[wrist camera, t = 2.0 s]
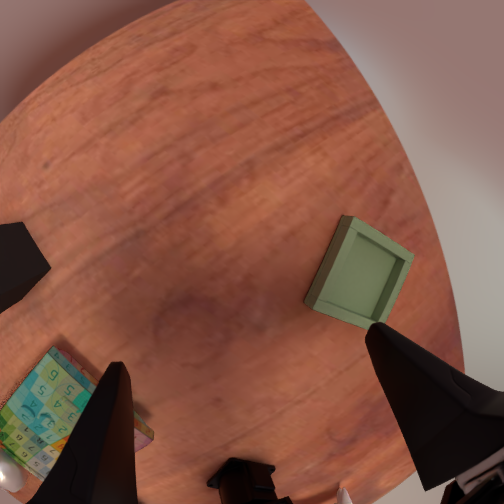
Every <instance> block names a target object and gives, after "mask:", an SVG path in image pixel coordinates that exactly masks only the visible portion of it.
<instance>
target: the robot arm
mask: <svg viewBox="0 0 504 504" xmlns="http://www.w3.org/2000/svg"><path fill="white" fill-rule="evenodd" d="M365 343H366V346H367V349H368V352H369V355H370V358H371V361H372V364H373V367H374V370H375V372H376V375H377V377H378V380H379V382H380V384H381V386H382V388H383V390H384V393H385V395H386V397H387V399H388V402H389V404H390V406H391V408H392V411H393V413H394V415H395V418H396V420H397V422H398V425H399V427H400V429H401V432H402V434H403V437H404V439H405V441H406V444H407V446H408V449H409V451H410V454H411V457H412V459H413V462H414V464H415V467H416V470H417V472H418V475H419V477H420V480H421V483H422V486H423V488H424V490H425V491H428V490H430V489H432V488H434V487H436V486H439V485H441V484H443V483H445V482H447V481H448V480H451V479H452V478H454V477H455V480H454V481H452V482H451V483H450V484H448V485H447V486H446V488H445V491H444V495H443V497H442V500H441V503H440V504H504V392H501V391H497V390H494V389H491V388H490V387H488V386H486V385H484V384H482V383H480V382H478V381H476V380H474V379H472V378H470V377H469V376H467V375H465V374H463V373H462V372H460V371H458V370H457V369H455V368H454V367H452V366H449V364H447V363H446V362H444V361H443V360H441V359H440V358H438V357H436V356H435V355H433V354H432V353H430V352H429V351H427V350H425V349H424V348H422V347H421V346H419V345H418V344H416V343H414V342H413V341H411V340H410V339H408V338H407V337H405V336H403V335H402V334H400V333H399V332H397V331H395V330H394V329H392V328H391V327H389V326H388V325H386V324H384V323H383V322H376V323H372V324H371V325H370V327H369V330H368V332H367V334H366V336H365ZM275 470H276V469H275V466H272V465H266V464H260V463H255V462H250V461H246V460H241V459H237V458H230V459H229V460H228V461H227V462H226V463H225V464H224V465H223V466H222V467H221V468H220V470H219V471H218V472H217V473H216V474H215V475H214V476H213V477H212V478H211V479H210V480H209V481H208V482H207V486H208V487H211V488H216V489H218V490H219V495H220V499H221V504H293V503H292V501H291V499H290V498H289V496H287V497H284V498H282V499H278V498H277V496H276V493H275V491H274V490H275V486H274V483H273V481H272V478H271V476H270V475H271V474H272V473H273V472H274V471H275ZM26 504H138V500H137V488H136V472H135V443H134V412H133V402H132V391H131V379H130V375H129V373H128V371H127V369H126V367H125V365H124V363H123V362H121V361H120V362H111V363H110V364H109V366H108V368H107V369H106V371H105V373H104V375H103V376H102V378H101V380H100V381H99V383H98V385H97V387H96V388H95V390H94V392H93V394H92V395H91V397H90V399H89V401H88V402H87V404H86V406H85V408H84V410H83V412H82V413H81V415H80V417H79V419H78V421H77V423H76V424H75V426H74V428H73V430H72V432H71V434H70V436H69V438H68V440H67V442H66V443H65V445H64V447H63V449H62V451H61V453H60V455H59V457H58V459H57V460H56V462H55V464H54V465H53V467H52V469H51V470H50V472H49V473H48V475H47V476H46V478H45V479H44V481H43V483H42V484H41V486H40V487H39V489H38V490H37V492H36V493H35V495H34V496H33V497H32V499H30V500H29V501H28V502H27V503H26Z"/></svg>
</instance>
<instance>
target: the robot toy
mask: <svg viewBox="0 0 504 504" xmlns="http://www.w3.org/2000/svg"><path fill="white" fill-rule="evenodd" d="M334 504H352V501H351V499H350V497H349V494H348V492H347V490H346V488H345V487H343V489H341V488H339V489H338V491H337V503H334Z"/></svg>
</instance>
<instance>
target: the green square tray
mask: <svg viewBox="0 0 504 504" xmlns="http://www.w3.org/2000/svg"><path fill="white" fill-rule="evenodd" d="M414 256H415V255H414V254H412V253H411V252H409V251H408V250H407V249H405V248H404V247H402V246H401V245H399V244H398V243H396V242H394V241H393V240H391V239H390V238H388V237H387V236H385V235H384V234H382V233H381V232H379V231H377V230H376V229H374V228H373V227H371V226H369V225H368V224H366V223H365V222H363V221H361V220H360V219H358V218H356V217H355V216H344V215H343V216H342V218H341V220H340V222H339V225H338V227H337V230H336V232H335V234H334V237H333V239H332V241H331V243H330V246H329V248H328V250H327V253H326V255H325V257H324V259H323V261H322V264H321V266H320V268H319V270H318V272H317V275H316V277H315V279H314V281H313V283H312V285H311V287H310V290H309V292H308V294H307V296H306V298H305V300H304V303H305V304H306V305H307V306H309V307H310V308H311V309H312V310H315V311H318V312H320V313H323V314H326V315H328V316H331V317H334V318H336V319H339V320H342V321H345V322H347V323H350V324H353V325H356V326H358V327H361V328H364V329H367V330H369V327H370V325H371V324H372V323H376V322H383V323H384V324H385V322H386V320H387V318H388V316H389V314H390V312H391V310H392V308H393V306H394V303H395V301H396V299H397V297H398V295H399V292H400V290H401V288H402V285H403V283H404V281H405V278H406V276H407V274H408V271H409V269H410V266H411V264H412V261H413V258H414Z"/></svg>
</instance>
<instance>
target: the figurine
mask: <svg viewBox="0 0 504 504" xmlns="http://www.w3.org/2000/svg"><path fill="white" fill-rule="evenodd" d="M28 474H29V471H28V470H26V469H25V468H24V467H23V466H21V465H20V464H19V463H18V462H16V461H15V460H14V459H13V458H11V457H10V456H9V455H8V454H7V453H6V452H4V451H3V450H2V449H1V448H0V490H3V491H5V492H8V491H6V490H9V491H11V492H17V491H18V490H20V489H21V488H22V487H23V486H24V485H25V484H26V482H27V475H28ZM4 489H6V490H4ZM8 493H9V492H8Z"/></svg>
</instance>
